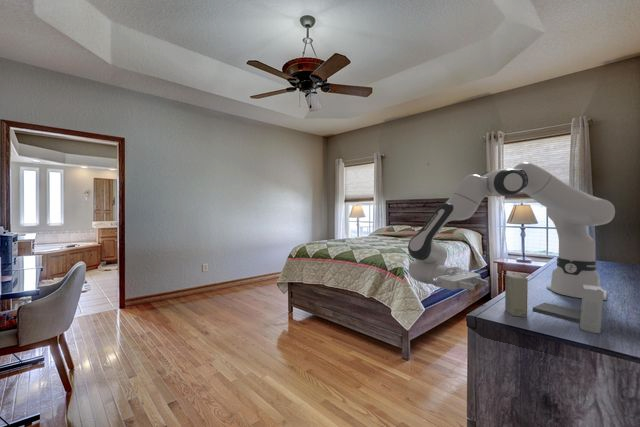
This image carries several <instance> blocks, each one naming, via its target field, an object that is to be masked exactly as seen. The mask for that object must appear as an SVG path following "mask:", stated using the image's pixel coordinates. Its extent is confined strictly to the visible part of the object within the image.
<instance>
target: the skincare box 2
mask: <svg viewBox="0 0 640 427" xmlns="http://www.w3.org/2000/svg"><path fill="white" fill-rule="evenodd" d="M599 286H600V285H599ZM599 286H592V285H583V293H582V298H581V307H580V311H581V317H580V322H579V328H580V330H581V331H585V332H589V333H593V334H594V333H595V334H601V328H602V317H603V306H604V300H603V294H604V292H603V290H604V289H603V286H602V287H599Z"/></svg>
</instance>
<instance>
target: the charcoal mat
mask: <svg viewBox="0 0 640 427" xmlns="http://www.w3.org/2000/svg"><path fill="white" fill-rule="evenodd" d="M533 311H534V312H537V313H541V314H544V315H549V316H552V317H556V318H560V319H564V320H568V321H571V322H575V323H579V324H580V317H581V310H579V309H578V310H577V309H574V308H570V307H565V306H561V305H556V304H553V303H549V302H542V303H540V304H538V305H536V306H533V307H532V312H533Z"/></svg>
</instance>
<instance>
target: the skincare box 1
mask: <svg viewBox="0 0 640 427" xmlns="http://www.w3.org/2000/svg"><path fill="white" fill-rule="evenodd" d="M504 276H505V280H504V281H505V282H504V283H505V284H504V285H505V286H504V288H505V290H504V291H505V293H504V294H505V296H504V298H505V299H504V301H505V302H504V307H505V308H504V310H505V311H506V312H507V313H508V314H510V315H512V316H514V317H526V318H527V317H528V290H529V289H528V278H527V277H524V276H522V275H520V274H509V273H508V274H505V275H504Z"/></svg>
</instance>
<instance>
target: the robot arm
mask: <svg viewBox="0 0 640 427" xmlns="http://www.w3.org/2000/svg"><path fill="white" fill-rule="evenodd" d="M521 191H522V192H523V193H524V194H526V195H527V196H529V197H530V198H531V199H533V200H535V202H537V203H539V204H540V205H542V206H544V207H545V208H546V214H547V217H548V218H549V219H550V220H551V221H552V222H553V224H554V227H555V230H556V233H557V236H558V237H557V238H558V257H557V258H556V267H555V268H554V269H552V271H551V280H550V284H549V285H546V287H545V288H546V289H547V290H551V291H552V292H554V293H556V294H559V295H563V296H567V297H572V298H578V299H582V293H583V285H592V286H599V287H602V288H603V286H601V284H600V282H601V281H600V279H601V278H600V276H599V274H598V273H597V261H596V260H595V259H596V258H595V257H596V241H595V240H594V238H593V237H591V235H590V234H589V233H588V230H587V228H586V226H587V227H597V226H602V225H606V224H608V223H610V222H611V221H612V220H613V219H614V218H615V214H616V209H615V206H614V204H613V203H612V202H611V201H609V200H607V199H604V198H600V197H596V196H595V195H592V194H589V193H587V192H585V191H583V190H580V189H578V188H575V187H573V186H570V185H569V184H567V183H566V182H563V181H562V180H560V179H559V178H557V176H555V175H553V174H552V173H550V172H549V171H547V170H546V169H544V168H542V167H540V166H538V165H536V164H534V163H532V162H527V161H524V162H521V163H518V164H517V165H515V166H514V167H513V168H503V169H502V168H500V169H494V170H490V171H487V172H485V173H483V174H481V175H479V174H473V173H472V174H468V175H467V176H465V177H464V178H463V179H462V180H461V182H460V183H459V184H458V186H456V188H455V189H454V191H453V193H452V194H451V196H450V197H449V199H448V200H447V201H445V203H443V204H440V205H439V207H437V209H435V211H434V212H433V213H432V214H431V216H430V217H429V218H428V219H427V221H426V222H425V224H424V225H423V226H422V227H421V229H420V230H419V231H418V232H417V233H415V235H413V236H412V237H411V238H410V239H409V241H408V245H407V250H408V254H409V255H410V257H411V258H413V259H414V260H413V261H411V262H410V263H409V264H408V269H407V270H408V274H409V276H410V277H411V279H413V280H415V281H417V282H419V283H423V284H426V285H432V286H435V287H438V288H441V289H444V290H448V291H457V290H460V289H463V290H465V289H466V290H470V291H472V290H475V288H476V287H475V286H476V285H480V286H483V287H486V286H488V285H489V281H488V280H485V279H483V278H481V277H482V276H481V274H479V273H478V272H477V273H476V272H474V271H470V270H466V269H462V268H461V267H458V266H456V267H455V266H448V265H445V263H446V260H447V257H448V251H447V249H446V247H445V246H443V245H442V244H440V243H439V242H437V241H434V239H435V237H436V236H437V235H438V233H439V232H441V230H442V229H443V227H444V226H445V225H446V224H447V223H448V222H451V221H465V220H468V219H470V218H472V216H473V215H474V214H475V212H476V211H477V210H478V208H479V206H480V205H481V203H482V201H483V200H484V199H485V197H487V196H489V197H498V198H499V197H511V196H514V195H517V194H518V193H520V192H521ZM603 292H604V294H603V301H607V299H608V298H607V296H608V295H607V294H608V293H607V290H605V289H603Z"/></svg>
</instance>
